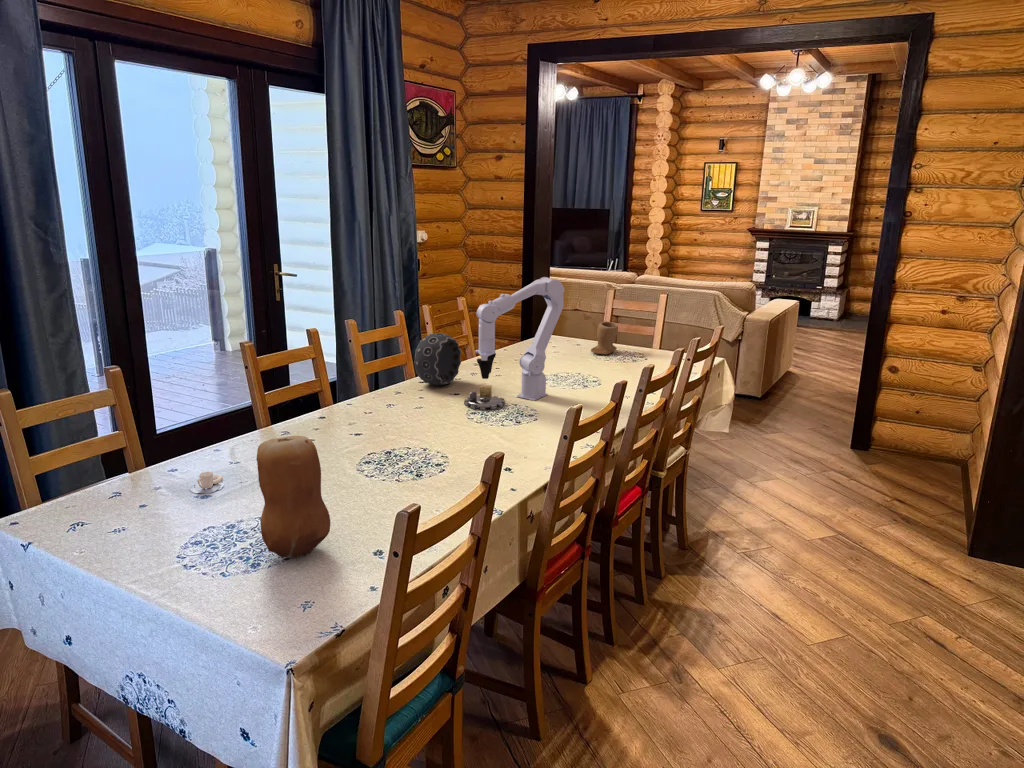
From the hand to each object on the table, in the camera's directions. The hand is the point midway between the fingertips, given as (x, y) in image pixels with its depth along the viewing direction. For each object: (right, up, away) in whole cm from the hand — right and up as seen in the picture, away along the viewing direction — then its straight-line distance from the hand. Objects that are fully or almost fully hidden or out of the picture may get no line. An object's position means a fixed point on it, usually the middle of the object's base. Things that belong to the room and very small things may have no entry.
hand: (486, 375), depth 247 cm
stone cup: (+54, +12, +84) cm, 100 cm away
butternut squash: (-35, -38, -105) cm, 117 cm away
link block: (0, -8, +2) cm, 8 cm away
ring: (-20, -3, +23) cm, 31 cm away
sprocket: (0, -10, -2) cm, 10 cm away
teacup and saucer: (-64, -29, -74) cm, 102 cm away
